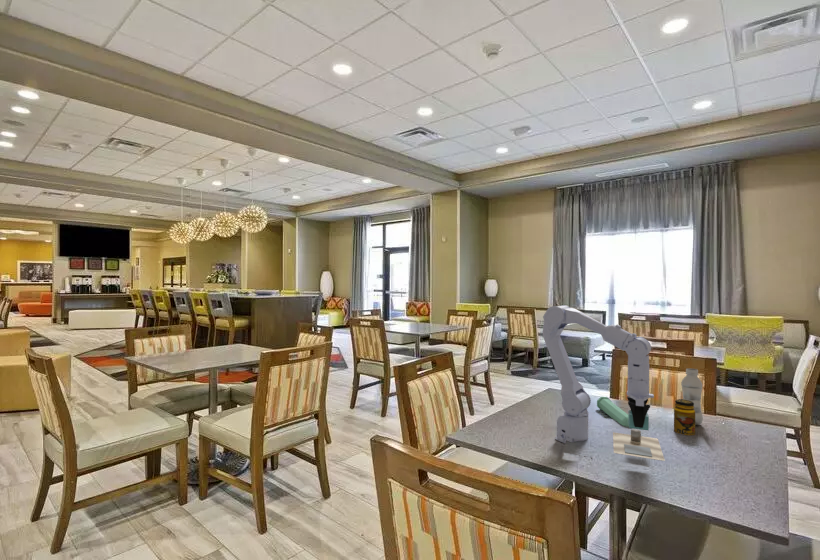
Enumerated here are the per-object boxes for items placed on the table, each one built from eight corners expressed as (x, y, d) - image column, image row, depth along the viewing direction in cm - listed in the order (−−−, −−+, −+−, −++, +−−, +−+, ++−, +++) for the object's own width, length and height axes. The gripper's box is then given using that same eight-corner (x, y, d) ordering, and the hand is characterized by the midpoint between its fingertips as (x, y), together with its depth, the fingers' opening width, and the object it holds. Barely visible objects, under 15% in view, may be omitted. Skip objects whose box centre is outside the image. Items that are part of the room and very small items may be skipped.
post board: (664, 466, 120) (665, 450, 120) (613, 457, 126) (613, 442, 126) (657, 443, 138) (657, 429, 138) (612, 436, 143) (612, 423, 143)
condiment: (685, 441, 140) (685, 404, 140) (663, 432, 148) (663, 397, 148) (702, 439, 142) (702, 402, 142) (679, 430, 150) (679, 396, 150)
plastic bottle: (707, 427, 154) (707, 371, 154) (687, 427, 154) (688, 371, 154) (695, 421, 160) (695, 367, 160) (677, 421, 160) (677, 367, 160)
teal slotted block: (648, 430, 124) (648, 416, 124) (629, 427, 126) (629, 414, 126) (647, 425, 129) (647, 412, 129) (628, 422, 131) (628, 409, 131)
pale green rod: (635, 414, 149) (608, 394, 174) (619, 420, 149) (594, 399, 174) (642, 430, 149) (613, 407, 174) (625, 436, 149) (599, 412, 174)
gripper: (656, 385, 119) (656, 434, 119) (651, 375, 133) (651, 419, 133) (627, 382, 122) (627, 430, 122) (625, 372, 136) (625, 415, 135)
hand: (637, 424), depth 128 cm, fingers closed on teal slotted block, 5 cm apart
